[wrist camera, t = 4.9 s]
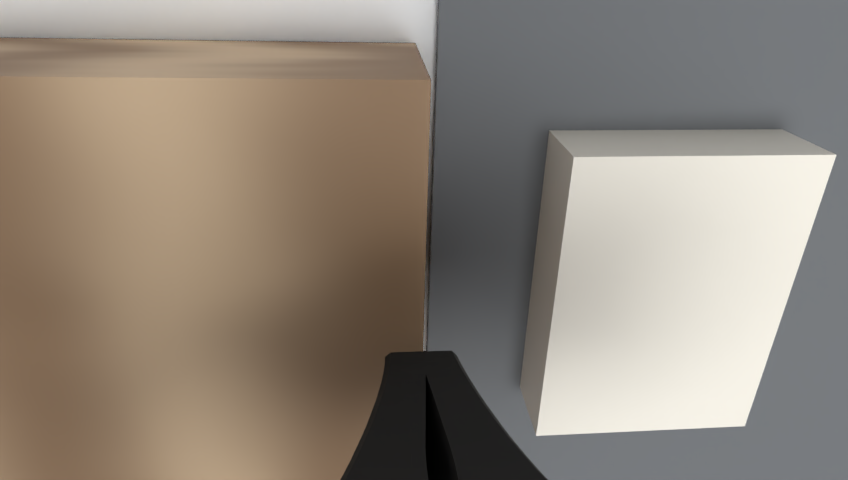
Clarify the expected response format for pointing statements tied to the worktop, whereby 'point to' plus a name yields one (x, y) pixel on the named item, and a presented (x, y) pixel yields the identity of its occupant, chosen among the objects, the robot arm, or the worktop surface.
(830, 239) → the mat
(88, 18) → the worktop surface
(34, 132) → the butcher block
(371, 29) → the worktop surface
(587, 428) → the cream flat block
